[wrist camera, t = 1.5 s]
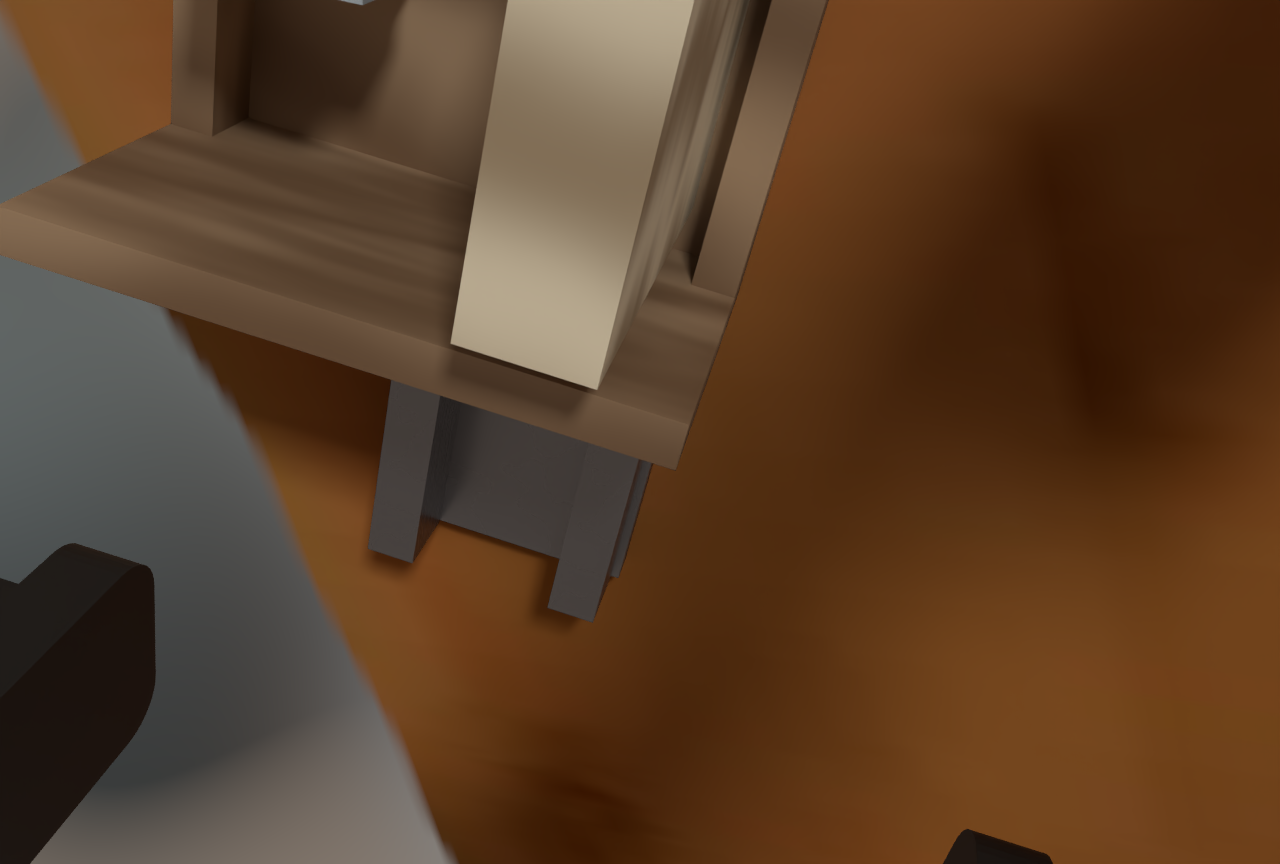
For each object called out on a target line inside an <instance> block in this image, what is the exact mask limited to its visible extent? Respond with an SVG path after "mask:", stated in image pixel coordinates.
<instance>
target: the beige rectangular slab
mask: <svg viewBox="0 0 1280 864" xmlns="http://www.w3.org/2000/svg"><path fill="white" fill-rule="evenodd" d="M749 1H750V0H508V3H507V9H506V15H505V21H504V27H503V33H502V39H501V45H500V51H499V57H498V63H497V69H496V75H495V81H494V87H493V92H492V98H491V104H490V110H489V116H488V122H487V128H486V134H485V140H484V146H483V152H482V158H481V164H480V170H479V176H478V182H477V188H476V194H475V200H474V206H473V212H472V218H471V224H470V230H469V236H468V242H467V248H466V254H465V260H464V266H463V272H462V278H461V284H460V290H459V296H458V302H457V308H456V314H455V320H454V326H453V332H452V338H451V344H453V345H456V346H460V347H463V348H466V349H469V350H472V351H475V352H479V353H482V354H485V355H488V356H491V357H494V358H498V359H501V360H504V361H507V362H510V363H513V364H517V365H520V366H523V367H526V368H529V369H532V370H535V371H539V372H542V373H545V374H548V375H551V376H554V377H558V378H561V379H564V380H567V381H570V382H573V383H577V384H580V385H583V386H586V387H589V388H592V389H596V390H597V389H598V387H599V385H600V384H601V382H602V380H603V378H604V376H605V374H606V372H607V370H608V368H609V366H610V365H611V363H612V361H613V359H614V357H615V355H616V353H617V351H618V349H619V347H620V346H621V344H622V342H623V340H624V338H625V336H626V334H627V332H628V330H629V328H630V327H631V325H632V323H633V321H634V319H635V317H636V315H637V313H638V311H639V309H640V308H641V306H642V304H643V302H644V300H645V298H646V296H647V294H648V292H649V290H650V289H651V287H652V285H653V283H654V281H655V279H656V277H657V275H658V273H659V271H660V270H661V268H662V266H663V264H664V262H665V260H666V258H667V256H668V254H669V252H670V251H671V249H672V247H673V245H674V243H675V241H676V239H677V237H678V235H679V233H680V232H681V230H682V228H683V226H684V224H685V222H686V220H687V218H688V216H689V214H690V213H691V211H692V209H693V206H694V202H695V199H696V195H697V191H698V188H699V184H700V180H701V177H702V173H703V169H704V166H705V162H706V158H707V155H708V151H709V147H710V144H711V140H712V136H713V133H714V129H715V126H716V122H717V118H718V115H719V111H720V107H721V104H722V100H723V96H724V93H725V89H726V85H727V82H728V78H729V74H730V71H731V67H732V63H733V60H734V56H735V52H736V49H737V45H738V42H739V38H740V34H741V31H742V27H743V23H744V20H745V16H746V12H747V9H748V5H749Z"/></svg>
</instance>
